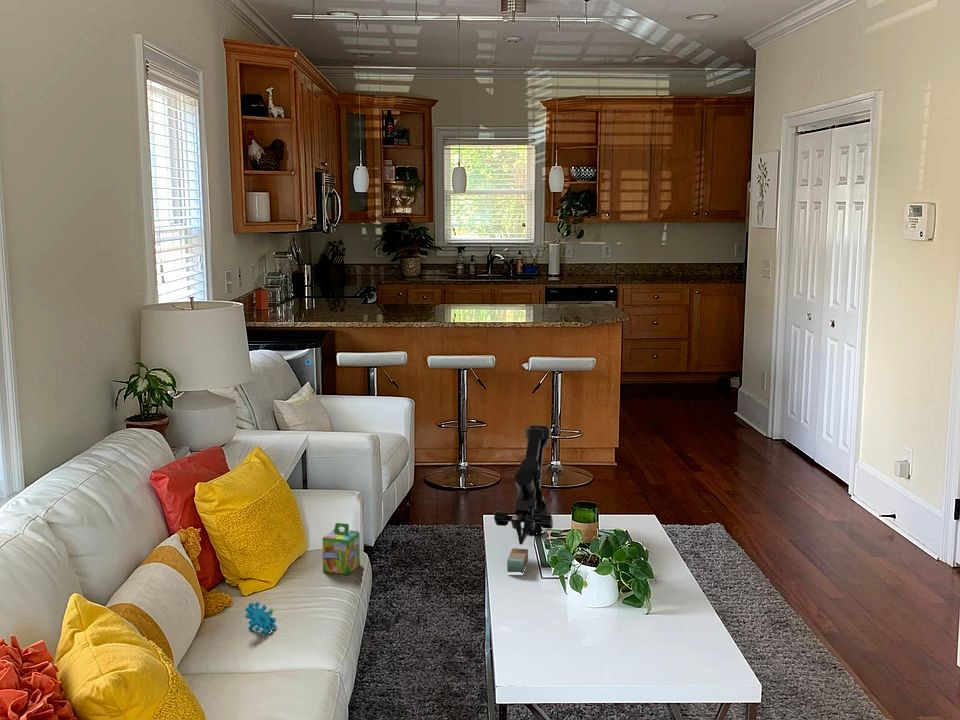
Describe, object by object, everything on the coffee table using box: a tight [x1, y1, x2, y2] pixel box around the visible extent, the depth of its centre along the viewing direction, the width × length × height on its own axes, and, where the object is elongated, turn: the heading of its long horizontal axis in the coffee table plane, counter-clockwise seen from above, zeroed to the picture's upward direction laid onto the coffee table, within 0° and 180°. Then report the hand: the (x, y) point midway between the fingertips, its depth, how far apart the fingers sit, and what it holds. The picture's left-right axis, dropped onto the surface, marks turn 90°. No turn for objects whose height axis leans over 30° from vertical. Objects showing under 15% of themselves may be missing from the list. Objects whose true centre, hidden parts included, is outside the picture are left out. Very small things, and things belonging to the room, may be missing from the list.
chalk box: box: [322, 522, 361, 576], centre depth 303 cm, size 9×9×15 cm
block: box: [506, 547, 529, 573], centre depth 302 cm, size 5×5×10 cm
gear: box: [244, 601, 277, 635], centre depth 262 cm, size 11×6×10 cm
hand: (520, 544), depth 306 cm, fingers closed
